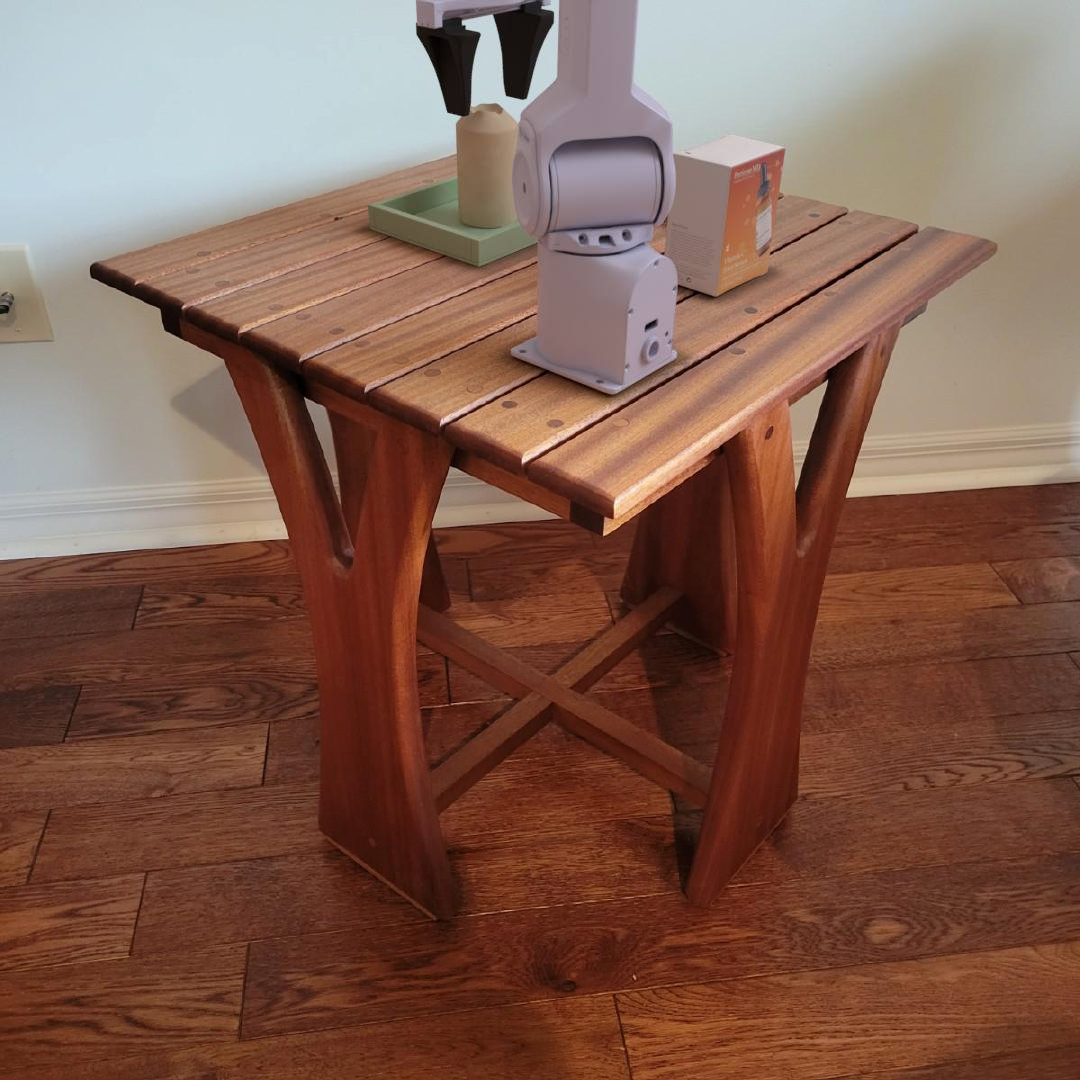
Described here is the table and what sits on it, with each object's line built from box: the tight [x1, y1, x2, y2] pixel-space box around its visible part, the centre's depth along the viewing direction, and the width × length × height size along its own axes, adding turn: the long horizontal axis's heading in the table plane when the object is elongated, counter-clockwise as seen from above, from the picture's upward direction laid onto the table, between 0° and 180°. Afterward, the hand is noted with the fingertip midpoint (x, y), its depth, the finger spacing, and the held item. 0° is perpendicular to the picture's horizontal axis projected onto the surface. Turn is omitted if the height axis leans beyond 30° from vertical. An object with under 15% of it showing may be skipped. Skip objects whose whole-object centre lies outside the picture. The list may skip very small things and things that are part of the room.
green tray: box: [367, 174, 538, 268], centre depth 101 cm, size 14×18×2 cm
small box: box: [663, 133, 786, 297], centre depth 89 cm, size 8×6×10 cm
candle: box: [455, 102, 519, 228], centre depth 99 cm, size 6×6×10 cm
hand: (487, 105), depth 96 cm, fingers open, 7 cm apart
